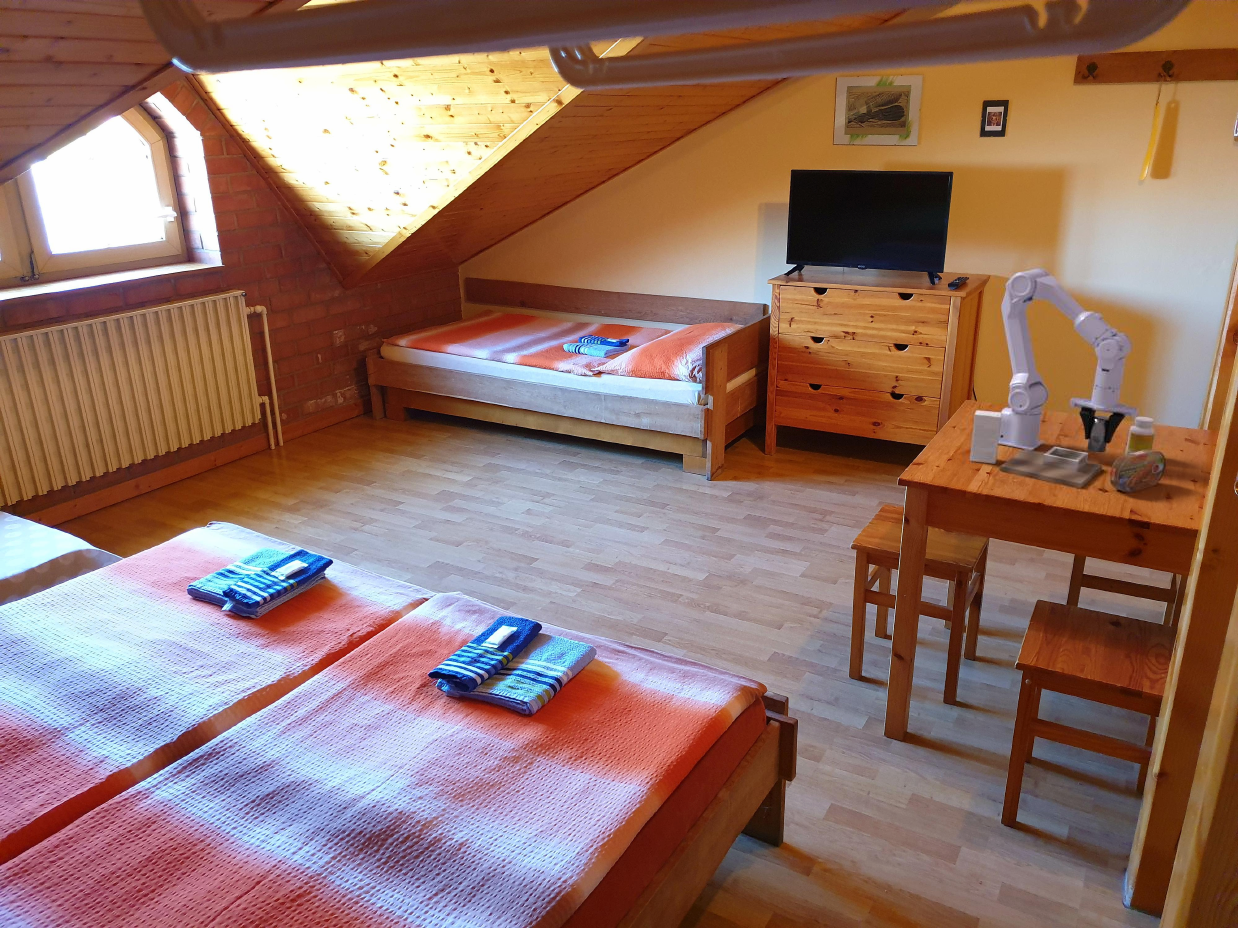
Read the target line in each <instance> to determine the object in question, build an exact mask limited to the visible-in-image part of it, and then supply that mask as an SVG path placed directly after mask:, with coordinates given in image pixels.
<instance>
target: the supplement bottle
mask: <svg viewBox="0 0 1238 928" xmlns="http://www.w3.org/2000/svg"><path fill="white" fill-rule="evenodd" d="M1154 421H1155V420H1154V418H1150V417H1148V416H1147V417H1146V416H1137V417H1136V418H1134V425H1132V426H1130V428H1129V433H1128V437H1127V441H1126V447H1125V454H1129V453H1134V452H1138V451H1142V450H1153V449H1152V448H1153V445H1154V444H1153V443H1154V438H1155V433H1156V432H1155V428H1154V427H1153V426H1154ZM1125 454H1124V455H1125Z"/></svg>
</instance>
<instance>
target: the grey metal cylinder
mask: <svg viewBox="0 0 1238 928" xmlns="http://www.w3.org/2000/svg"><path fill="white" fill-rule="evenodd" d="M1108 426H1109V416H1105V415H1104V416H1103V415H1095V416H1093V417H1092V423H1091V429H1090V435H1089V439H1088V442H1087V447H1086V449H1087V451H1089V452H1092V453H1098V454H1099V453H1101V454H1102V453H1106V451H1107V444H1108V443H1106V437H1107V433H1108Z"/></svg>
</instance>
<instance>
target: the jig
mask: <svg viewBox="0 0 1238 928" xmlns="http://www.w3.org/2000/svg"><path fill="white" fill-rule="evenodd" d="M1088 455H1089V453H1088V452H1083V451H1079V450H1073V449H1068V448H1062V447H1059V446H1054V447H1052V448H1051V449H1050V450H1048V451H1047V452H1042V451H1041V452H1040V451H1037V450H1036V451H1035V450H1027V449H1023V450H1021V451H1020V452H1018V453H1017V454H1015V455H1014V456H1013V457H1011V458H1010V459H1008V460H1007V461H1005V462H1004V463H1003V464H1001V465H1000V467H999V471H1000V472H1003V473H1008V474H1012V475H1013V474H1014V475H1016V476H1017V475H1018V476H1022V477H1027V478H1030V479H1031V478H1032V479H1036V480H1040V481H1043V482H1044V481H1046V482H1050V483H1054V484H1058V485H1064V486H1067V487H1072V488H1077V489H1082V488H1083V487H1084V486H1085V485H1086V484H1087V483H1088V482H1089V481H1091V479H1092V478H1094V477H1095V476H1096V475H1097V474H1098V473H1099V472H1100V471H1102V469H1103V464H1102V463H1101V464H1100V463H1096V462H1091V461H1088Z"/></svg>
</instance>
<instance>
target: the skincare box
mask: <svg viewBox="0 0 1238 928" xmlns="http://www.w3.org/2000/svg"><path fill="white" fill-rule="evenodd" d="M1001 412H1002V411H1001ZM1001 412H1000V411H999V412H997V411H989V410H988V411H986V410H978V409H977V410H975V413H974V419H973V429H972V430H973V431H972V435H971V436H972V438H971V446H970V447H971V448H970V457H969V462H978V463H985V464H986V463H988V464H993V465H994V464H996V462H997V458H998V451H999V450H998V449H999V444H998V443H999V434H1000V426H1001V417H1002V413H1001Z"/></svg>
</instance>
